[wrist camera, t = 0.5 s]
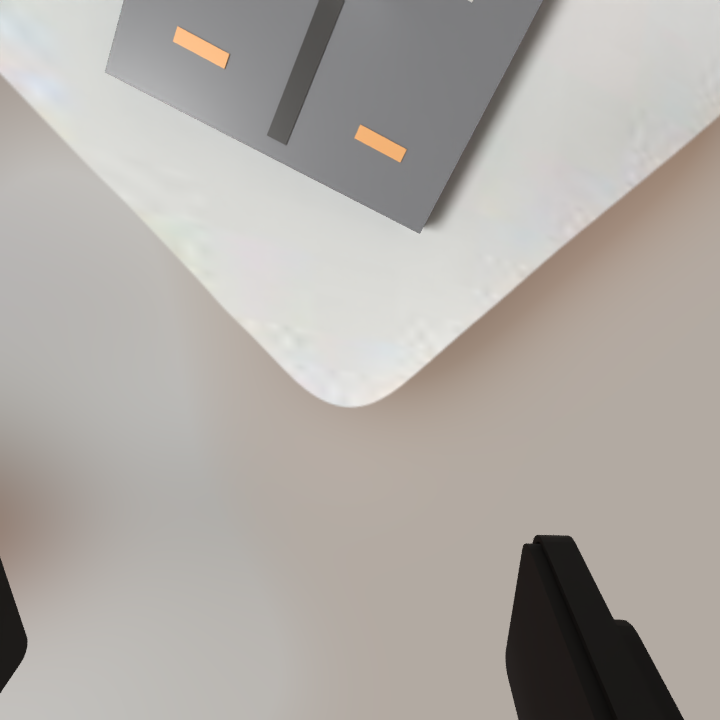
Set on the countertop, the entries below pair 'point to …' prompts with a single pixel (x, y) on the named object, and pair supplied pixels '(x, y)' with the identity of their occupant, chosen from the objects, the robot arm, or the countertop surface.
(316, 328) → the countertop surface
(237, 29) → the panel
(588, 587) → the robot arm
